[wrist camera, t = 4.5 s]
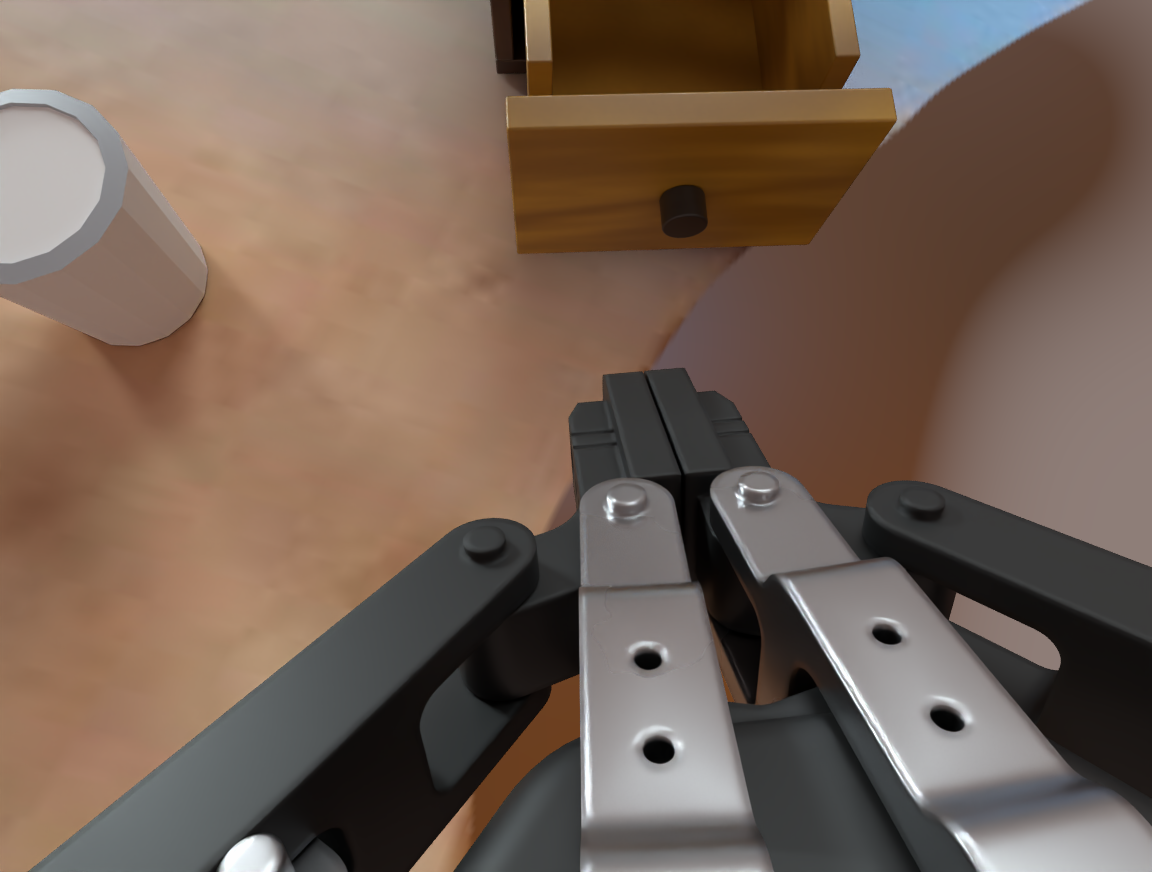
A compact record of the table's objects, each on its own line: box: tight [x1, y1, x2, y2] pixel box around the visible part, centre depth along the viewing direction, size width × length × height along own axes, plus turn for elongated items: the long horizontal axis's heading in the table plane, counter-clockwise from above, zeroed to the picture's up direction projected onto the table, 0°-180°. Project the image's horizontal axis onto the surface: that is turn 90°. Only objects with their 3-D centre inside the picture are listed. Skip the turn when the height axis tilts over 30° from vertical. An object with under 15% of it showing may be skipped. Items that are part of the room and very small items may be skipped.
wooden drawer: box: [505, 0, 897, 254], centre depth 27 cm, size 15×12×8 cm
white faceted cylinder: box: [0, 89, 208, 346], centre depth 26 cm, size 7×7×7 cm
